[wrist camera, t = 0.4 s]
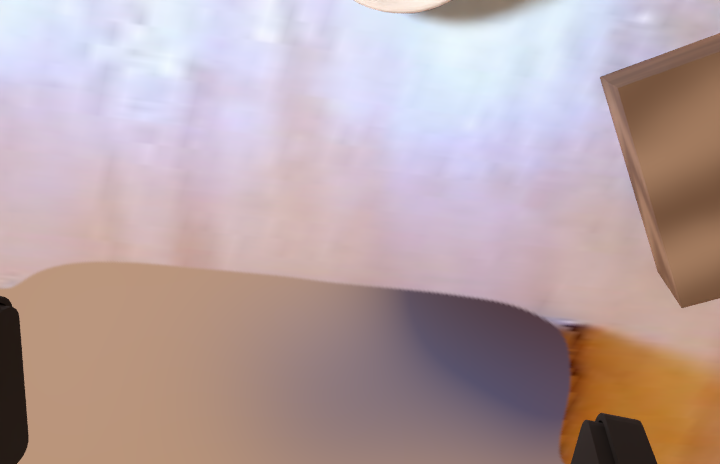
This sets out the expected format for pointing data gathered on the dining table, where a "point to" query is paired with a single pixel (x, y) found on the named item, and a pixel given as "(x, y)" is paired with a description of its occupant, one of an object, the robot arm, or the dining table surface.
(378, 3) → the spoon rest
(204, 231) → the dining table surface
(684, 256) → the walnut block
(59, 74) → the dining table surface
